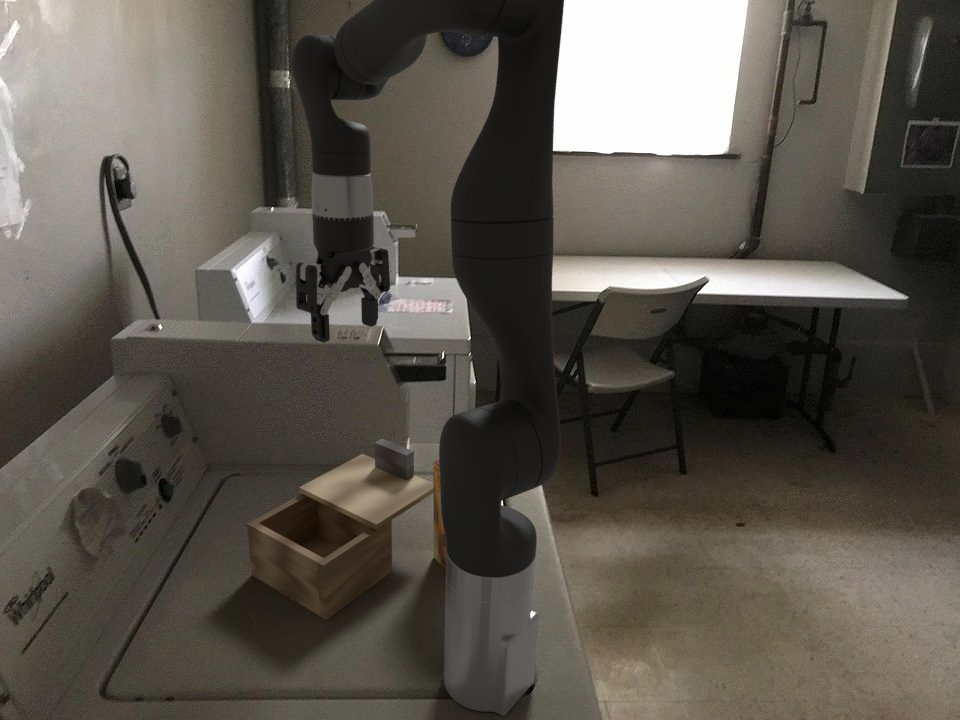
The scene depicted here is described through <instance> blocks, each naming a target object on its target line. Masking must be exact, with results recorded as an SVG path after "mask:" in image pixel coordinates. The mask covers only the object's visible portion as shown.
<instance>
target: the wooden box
mask: <svg viewBox="0 0 960 720" xmlns="http://www.w3.org/2000/svg"><path fill="white" fill-rule="evenodd" d="M392 521H393V520H391V521H390V522H388V523H387V524H385V525H384V526H382V527H380V528H379V529H377V530H376V529H374V528H372V527H370V526H368V525H366V524H364V523H361V522H359V521H357V520H355V519H353V518H351V517H349V516H347V515H345V514H343V513H341V512H339V511H337V510H335V509H333V508H330V507H328V506H326V505H324V504H322V503H320V502H318V501H316V500H314V499H312V498H310V497H308V496H306V495H304V494H302V493H300V495H298V496H296V497H294V498H292V499H290V500H288V501H286V502H285V503H283V504H281V505H279V506H277V507H276V508H273V509H271V510H270V511H268V512H266V513H264V514H262V515H261V516H259V517H257V518H255V519H253V520H251V521H249V522H248V523H246V528H247V540H248V549H249V550H248V551H249V561H250V570H251V572H250V573H251V576H252V577H254V578H256V579H257V580H258V581H260V582H262V583H264V584H266V585H267V586H269V587H271V588H272V589H273V590H276V591H277V592H278V593H280V594H282V595H283V596H286V597H287V598H288V599H290V600H292V601H293V602H296V603H297V604H299V605H300V606H301V607H304V608H305V609H307V610H309V611H311V612H312V613H314V614H315V615H317V616H319V617H320V618H322V619H324V620H326V621H327V620H328V619H329V618H331V617H332V616H333V615H335V614H336V613H338V612H339V611H340V610H342V609H344V607H346V606H347V605H349V604H350V603H351V602H353V601H354V600H356V599H357V598H359V597H360V596H361V595H362V594H364V593H365V592H366V591H368V590H369V589H371V588H372V587H373V586H374V585H376V584H377V583H379V582H380V581H381V580H383V579H384V578H385V577H387V576H389V575H390V574H391V573H393V544H392V542H393V541H392V540H393V539H392V538H393V536H392V535H393V534H392V532H393V530H392V525H393V524H392Z"/></svg>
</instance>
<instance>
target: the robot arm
mask: <svg viewBox="0 0 960 720" xmlns="http://www.w3.org/2000/svg"><path fill="white" fill-rule="evenodd" d="M564 7H565V0H372V1H371V2H370V3H368V4H367V5H366V6H365V7H363V8H362V9H361V10H359V11H358V12H357V13H355V14H354V15H353V16H351V17H349V19H347V20H346V21H345V22H344V23H343V24H342V25H341V27H340V28H339V30H338V31H337V33H336V34H335V35H333V34H319V33H311V34H306V35H303V36H302V37H301V38H300V39H299V40H298V41H297V43H296V44H295V46H294V48H293V50H292V56H291V69H292V70H291V71H292V75H293V79H294V82H295V87H296V89H297V92H298V95H299V98H300V101H301V103H302V107H303V110H304V111H303V112H304V116H305V118H306V119H305V120H306V121H307V127H308V130H309V135H310V142H311V146H310V147H311V166H312V181H311V215H312V216H311V217H312V234H313V237H312V238H313V239H312V240H313V245H314V246H313V247H315V249H316V252H317V258H316V261H315V262H314V263H313V262H312V263H304V262H300V261H299V262H298V263H297V264H296V267H295V270H296V271H295V272H296V273H295V274H296V275H295V289H296V292H295V295H296V296H295V297H296V300H295V301H296V303H295V304H296V305H295V306H296V309H297V310H301V311H302V312H306V313H309V314H310V324H311V328H310V329H311V335H312V337H313V338H314V339H315V340H316V341H318V342H321V343H327V342H329V341H330V338H331V335H330V332H331V331H330V314H328V313H329V310H330V308H331V306H332V305H333V302H335V301H336V300H338V298H339V296H340V294H341V293H343V292H347V291H348V290H350V289H358V291H359V292H360V293H361V295H362V296H363V297H361V298H360V302H361V303H360V304H361V305H360V307H361V324H363V325H364V326H366V327H367V326H368V327H372V328H373V327H376V326H377V324H378V319H379V299H380V298H381V296H382V294H383V293H384V292H385V293H388V292H389V291H390V289H391V283H390V280H391V279H390V278H391V277H390V260H389V251H388V249H386V248H383V247H379V246H374V244H375V236H374V235H375V234H374V233H375V228H374V226H375V225H374V190H373V183H372V174H371V172H372V171H371V170H372V168H371V167H372V166H371V165H372V163H371V162H372V161H371V160H372V159H371V157H372V155H371V154H372V153H371V135H370V134H371V133H370V131H369V129H368V127H367V126H366V125H364V124H362V123H360V122H357V121H352V120H348V119H343V118H340V117H339V116H338V114H337V113H336V111H335V110H334V106H333V105H332V101H364V100H369V99H373V98H375V97H378V96H379V95H380V94H381V92H382V91H383V90H384V87H385V86H386V84H387V83H388V81H389V79H390V78H392V77H394V76H395V75H398V74H400V73H402V72H404V71H405V70H406V69H408V68H409V67H411V66H412V65H413V64H414V63H415V62H417V60H418V59H419V58H420V56H421V55H422V53H423V51H424V48H425V46H426V44H427V36H428V35H431V34H437V33H444V32H446V33H447V32H451V33H452V32H453V33H456V34H460V35H461V36H462V35H463V36H464V35H465V36H473V37H474V36H477V37H493V38H495V37H496V38H497V48H498V49H497V50H498V51H497V52H498V53H497V54H498V55H497V70H496V71H497V72H496V84H495V90H494V96H493V100H492V104H491V106H490V110H489V113H488V115H487V117H486V120H485V122H484V124H483V126H482V129H481V130H480V133H479V135H478V136H477V138H476V140H475V142H474V143H473V146H472V147H471V148H470V151H469V153H468V155H467V157H466V159H465V161H464V163H463V165H462V167H461V169H460V171H459V174H458V175H457V176H458V177H457V179H456V181H455V184H454V187H453V190H452V194H451V199H450V229H451V230H450V231H451V233H450V234H451V261H452V269H453V272H454V276H455V278H456V281H457V284H458V286H459V288H460V290H461V292H462V294H463V295H464V297H465V299H466V300H467V302H468V304H469V305H470V307H471V308H472V310H473V312H474V313H475V315H476V316H477V318H478V319H479V321H480V322H481V324H482V325H483V326H484V328H485V330H486V331H487V333H488V335H489V336H490V339H491V341H492V343H493V344H494V348H495V350H496V354H497V358H498V359H497V360H498V365H499V375H500V376H499V377H500V393H499V394H500V395H499V400H498V401H496V402H493V403H489V404H486V405H483V406H479V407H475V408H472V409H468V410H464V411H461V412H458V413H455V414H453V415H451V416H450V417H449V418H448V419H447V420H446V421H445V423H444V425H443V427H442V429H441V434H440V438H439V446H438V447H439V449H438V460H439V466H440V485H441V513H442V521H443V526H444V530H445V534H446V541H447V548H446V549H447V552H446V570H445V595H444V596H445V600H444V601H445V605H444V606H445V608H444V643H443V644H444V646H443V653H444V654H443V655H444V656H443V683H444V684H443V685H444V687H445V690H446V692H447V693H448V695H449V696H450V698H451V699H453V701H455V702H456V703H457V704H459V705H461V706H462V707H464V708H467V709H470V710H472V711H475V712H476V711H477V712H481V713H482V712H484V713H485V712H486V713H487V712H492V713H493V712H494V713H496V714H499V715H500V716H502V717H504V716H506V715H507V714H508V713H509V711H510V710H511V709H512V708H513V707H514V706H515V705H516V704H517V702H518V701H519V700H520V699H521V698H522V697H523V696H524V694H525V693H526V692H527V691H528V690H529V688H531V686H532V685H534V683H535V673H536V671H535V670H536V662H537V661H536V659H537V658H536V657H537V647H538V634H539V623H540V622H539V620H540V614H539V613H538V612H537V611H534V610H533V609H532V608H533V597H534V594H533V593H534V580H535V568H536V558H537V557H536V555H537V537H538V536H537V531H536V528H535V525H534V523H533V521H531V520H530V519H529V518H528V517H527V516H526V515H525V514H523V513H522V512H521V511H518V510H516V509H514V508H512V507H509V506H507V505H502V501H505V500H507V499H510V498H512V497H515V496H518V495H521V494H523V493H525V492H528V491H531V490H534V489H536V488H538V487H541V486H542V485H545V484H547V482H549V481H550V480H551V479H552V478H553V477H554V475H555V473H556V472H557V470H558V467H559V463H560V459H561V458H560V457H561V449H562V445H561V444H562V442H561V441H562V440H561V439H562V438H561V423H560V409H559V402H558V401H559V400H558V392H557V391H558V390H557V380H556V370H555V369H556V367H555V357H554V336H553V334H554V333H553V329H554V328H553V324H554V323H553V267H554V265H553V264H554V263H553V262H554V217H553V216H554V215H555V214H554V193H553V191H554V190H553V176H554V175H553V170H554V169H553V168H554V167H553V164H554V159H553V158H554V156H553V155H554V136H555V135H554V131H555V126H554V125H555V106H556V104H555V103H556V91H557V81H558V79H557V78H558V71H559V70H558V69H559V59H560V50H561V39H562V31H563V19H564ZM326 286H327V287H328V288H329V289H327V288H326V289H325V287H326Z"/></svg>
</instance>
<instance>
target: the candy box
mask: <svg viewBox="0 0 960 720" xmlns="http://www.w3.org/2000/svg"><path fill="white" fill-rule="evenodd" d="M432 466H433V483H434V493H433V558H434V559H435V560H436V561H437V562H438V563H439V565H441V567H442V568H443V569H444V570H445V571H446V552H447V549H446V548H447V541H446V534H445V530H444V526H443V521H442V513H441V485H440V466H439V459H437V460H434V461H433V465H432Z"/></svg>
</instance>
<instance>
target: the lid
mask: <svg viewBox="0 0 960 720" xmlns="http://www.w3.org/2000/svg"><path fill="white" fill-rule="evenodd" d="M298 489H299V490H298V491H299V493H300V494H304V495H306V496H308V497H310V498H312V499H314V500H316V501H318V502H320V503H322V504H324V505H326V506H328V507H330V508H333V509H335V510H337V511H339V512H341V513H343V514H345V515H347V516H349V517H351V518H353V519H355V520H357V521H359V522H361V523H364V524H366V525H368V526H370V527H372V528H374V529H376V530H377V529H379V528H380V527H382V526H384V525H385V524H387V523H388V522H390V521H393V520H394V519H396V518H397V517H399V516H401V515H402V514H404V513H405V512H406V511H408V510H410V509H412V507H414V506H416V505H417V504H418V503H420V502H422V501H424V500H425V499H427V498H428V497H429V496H431V495H432V494H433V495H434V482H432V481H429V480H427V479H425V478H421V477H420V476H417V475H415V451H414V450H412V449H410V448H407V447H404V446H402V445H400V444H396V443H394V442H392V441H389V440H387V439H384V438H380V439H379V440H377V441H375V442H374V457H373V456H372V457H371V456H369V455H366V454H364V453H361V454H359V455H358V456H356V457H354V458H351V460H348V461H346V462H344V463H343V464H341V465H339V466H337V467H334V468H333V469H331V470H329V471H328V472H325V473H323V474H322V475H320V476H318V477H316V478H314V479H313V480H311V481H308V482H306V483H305V484H303V485H301V486H299V488H298Z"/></svg>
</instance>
